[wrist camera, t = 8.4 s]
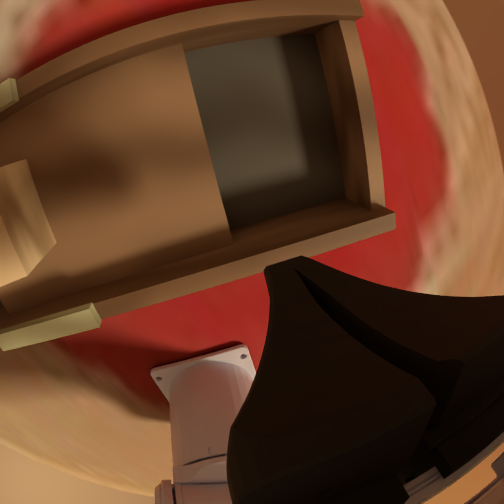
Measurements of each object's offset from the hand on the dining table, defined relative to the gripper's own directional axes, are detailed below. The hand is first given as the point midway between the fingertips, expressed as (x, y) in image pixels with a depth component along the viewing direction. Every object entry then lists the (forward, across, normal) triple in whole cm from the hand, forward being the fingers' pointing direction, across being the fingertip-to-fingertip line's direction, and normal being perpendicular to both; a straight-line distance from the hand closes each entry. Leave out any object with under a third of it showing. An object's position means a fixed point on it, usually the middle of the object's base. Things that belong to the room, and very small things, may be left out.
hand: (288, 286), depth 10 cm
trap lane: (+9, +9, -4) cm, 14 cm away
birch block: (+7, +13, -5) cm, 15 cm away
